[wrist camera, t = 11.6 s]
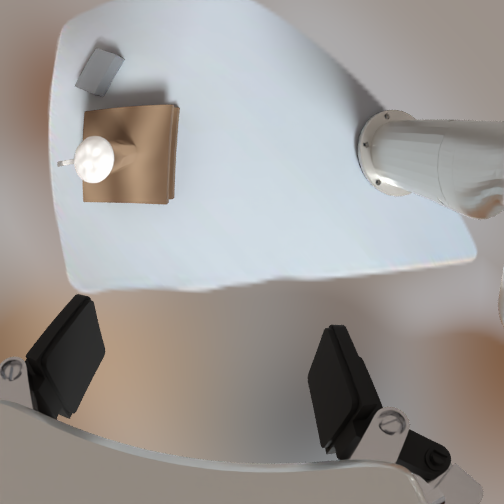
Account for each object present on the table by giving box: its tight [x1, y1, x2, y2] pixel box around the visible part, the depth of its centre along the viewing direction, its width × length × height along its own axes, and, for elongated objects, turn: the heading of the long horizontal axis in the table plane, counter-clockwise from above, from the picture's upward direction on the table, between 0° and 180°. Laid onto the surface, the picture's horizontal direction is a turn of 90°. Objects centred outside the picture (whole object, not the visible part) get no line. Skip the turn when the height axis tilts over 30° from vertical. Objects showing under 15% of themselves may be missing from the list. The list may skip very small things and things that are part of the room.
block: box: [75, 48, 124, 96], centre depth 26 cm, size 4×6×3 cm, turn 148°
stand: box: [83, 105, 180, 204], centre depth 31 cm, size 12×12×4 cm
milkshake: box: [58, 136, 137, 183], centre depth 24 cm, size 4×5×10 cm
